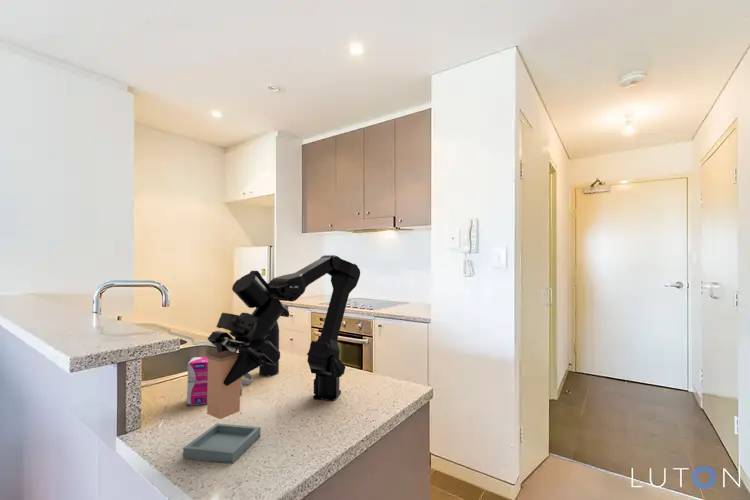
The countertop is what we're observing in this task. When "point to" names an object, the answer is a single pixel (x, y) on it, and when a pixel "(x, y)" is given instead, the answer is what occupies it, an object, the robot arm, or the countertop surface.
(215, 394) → the tan lidded box
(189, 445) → the slate tray
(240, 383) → the walnut block
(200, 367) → the supplement box
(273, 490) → the countertop surface
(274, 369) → the wine bottle
